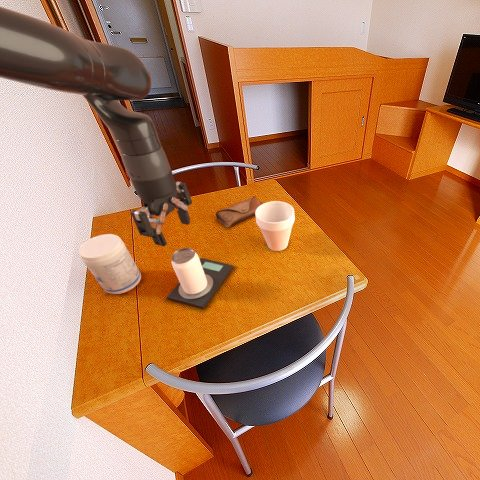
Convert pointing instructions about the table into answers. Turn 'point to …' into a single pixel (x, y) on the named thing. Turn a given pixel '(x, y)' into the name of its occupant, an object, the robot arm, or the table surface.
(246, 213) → the sunglasses case
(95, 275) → the supplement tub
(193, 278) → the can
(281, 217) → the cup
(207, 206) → the table surface
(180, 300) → the scale
